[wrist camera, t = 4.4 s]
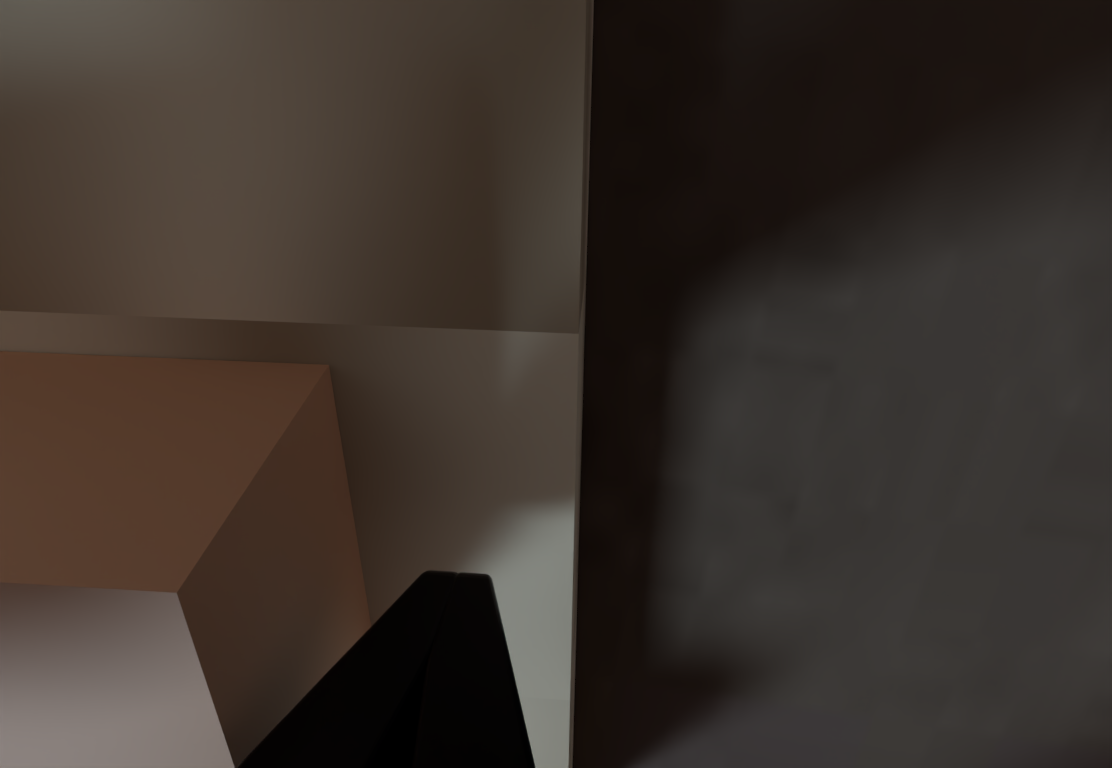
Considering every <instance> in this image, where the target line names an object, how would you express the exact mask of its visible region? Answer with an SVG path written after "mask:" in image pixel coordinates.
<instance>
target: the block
mask: <svg viewBox="0 0 1112 768" xmlns="http://www.w3.org/2000/svg"><path fill="white" fill-rule="evenodd" d="M370 627H371V621H370V615H369V609H368V603H367V596H366V590H365V584H364V578H363V572H362V566H361V559H360V553H359V547H358V541H357V535H356V529H355V522H354V516H353V510H352V504H351V498H350V492H349V485H348V479H347V473H346V467H345V461H344V455H343V449H342V442H341V436H340V430H339V424H338V418H337V412H336V405H335V399H334V393H333V387H332V381H331V375H330V368H329V365H321V364H297V363H273V362H249V361H225V360H201V359H177V358H153V357H129V356H105V355H81V354H57V353H33V352H9V351H0V768H236V767H237V766H238V765H239V764H240V763H241V762H242V761H243V760H244V759H245V758H246V757H247V756H248V755H249V754H250V753H251V752H252V750H253V749H254V748H255V747H256V746H257V745H258V744H259V743H260V742H261V741H262V740H263V739H264V738H265V737H266V736H267V735H268V734H269V733H270V732H271V731H272V730H273V728H274V727H275V726H276V725H277V724H278V723H279V722H280V721H281V720H282V719H283V718H284V717H285V716H286V715H287V714H288V713H289V712H290V711H291V710H292V709H293V708H294V707H295V705H296V704H297V703H298V702H299V701H300V700H301V699H302V698H303V697H304V696H305V695H306V694H307V693H308V692H309V691H310V690H311V689H312V688H313V687H314V686H315V685H316V684H317V682H318V681H319V680H320V679H321V678H322V677H323V676H324V675H325V674H326V673H327V672H328V671H329V670H330V669H331V668H332V667H333V666H334V665H335V664H336V663H337V662H338V660H339V659H340V658H341V657H342V656H343V655H344V654H345V653H346V652H347V651H348V650H349V649H350V648H351V647H352V646H353V645H354V644H355V643H356V642H357V641H358V640H359V639H360V637H361V636H362V635H363V634H364V633H365V632H366V631H367V630H368V629H369V628H370Z"/></svg>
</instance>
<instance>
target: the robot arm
mask: <svg viewBox="0 0 1112 768" xmlns="http://www.w3.org/2000/svg"><path fill="white" fill-rule="evenodd" d="M236 768H535V763H534V759H533V754H532V750H531V746H530V741H529V737H528V733H527V728H526V724H525V720H524V715H523V711H522V707H521V702H520V698H519V694H518V689H517V685H516V680H515V676H514V672H513V667H512V663H511V659H510V654H509V650H508V646H507V641H506V637H505V633H504V628H503V624H502V620H501V615H500V611H499V607H498V602H497V598H496V593H495V589H494V585H493V581H492V578H491V576H490V575H488V574H481V573H467V572H460V573H457V572H452V571H437V570H427V571H425V572H423V573H422V574H421V575H420V576H419V577H418V578H417V579H416V580H415V581H414V582H413V583H412V584H411V585H410V586H409V587H408V588H407V589H406V590H405V591H404V592H403V594H402V595H401V596H400V597H399V598H398V599H397V600H396V601H395V602H394V603H393V604H392V605H391V606H390V607H389V608H388V609H387V610H386V611H385V612H384V613H383V614H382V616H381V617H380V618H379V619H378V620H377V621H376V622H375V623H374V624H373V625H372V626H371V627H370V628H369V629H368V630H367V631H366V632H365V633H364V634H363V635H362V636H361V637H360V639H359V640H358V641H357V642H356V643H355V644H354V645H353V646H352V647H351V648H350V649H349V650H348V651H347V652H346V653H345V654H344V655H343V656H342V657H341V658H340V659H339V660H338V662H337V663H336V664H335V665H334V666H333V667H332V668H331V669H330V670H329V671H328V672H327V673H326V674H325V675H324V676H323V677H322V678H321V679H320V680H319V681H318V682H317V684H316V685H315V686H314V687H313V688H312V689H311V690H310V691H309V692H308V693H307V694H306V695H305V696H304V697H303V698H302V699H301V700H300V701H299V702H298V703H297V704H296V705H295V707H294V708H293V709H292V710H291V711H290V712H289V713H288V714H287V715H286V716H285V717H284V718H283V719H282V720H281V721H280V722H279V723H278V724H277V725H276V726H275V727H274V728H273V730H272V731H271V732H270V733H269V734H268V735H267V736H266V737H265V738H264V739H263V740H262V741H261V742H260V743H259V744H258V745H257V746H256V747H255V748H254V749H253V750H252V752H251V753H250V754H249V755H248V756H247V757H246V758H245V759H244V760H243V761H242V762H241V763H240V764H239V765H238V766H237V767H236Z"/></svg>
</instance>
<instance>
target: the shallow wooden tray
mask: <svg viewBox="0 0 1112 768" xmlns="http://www.w3.org/2000/svg"><path fill="white" fill-rule="evenodd" d="M593 14H594V0H0V351H9V352H33V353H57V354H81V355H105V356H129V357H153V358H177V359H201V360H225V361H249V362H273V363H297V364H321V365H329V368H330V375H331V381H332V387H333V393H334V399H335V405H336V412H337V418H338V424H339V430H340V436H341V442H342V449H343V455H344V461H345V467H346V473H347V479H348V485H349V492H350V498H351V504H352V510H353V516H354V522H355V529H356V535H357V541H358V547H359V553H360V559H361V566H362V572H363V578H364V584H365V590H366V596H367V603H368V609H369V615H370V621H371V626H372V625H373V624H374V623H375V622H376V621H377V620H378V619H379V618H380V617H381V616H382V614H383V613H384V612H385V611H386V610H387V609H388V608H389V607H390V606H391V605H392V604H393V603H394V602H395V601H396V600H397V599H398V598H399V597H400V596H401V595H402V594H403V592H404V591H405V590H406V589H407V588H408V587H409V586H410V585H411V584H412V583H413V582H414V581H415V580H416V579H417V578H418V577H419V576H420V575H421V574H422V573H423V572H425V571H427V570H437V571H452V572H457V573H460V572H467V573H481V574H488V575H490V576H491V578H492V581H493V585H494V589H495V593H496V598H497V602H498V607H499V611H500V615H501V620H502V624H503V628H504V633H505V637H506V641H507V646H508V650H509V654H510V659H511V663H512V667H513V672H514V676H515V680H516V685H517V689H518V694H519V698H520V702H521V707H522V711H523V715H524V720H525V724H526V728H527V733H528V737H529V741H530V746H531V750H532V754H533V759H534V763H535V768H573V733H574V697H575V661H576V625H577V590H578V554H579V518H580V482H581V446H582V410H583V374H584V338H585V302H586V266H587V230H588V194H589V158H590V122H591V86H592V50H593Z"/></svg>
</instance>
